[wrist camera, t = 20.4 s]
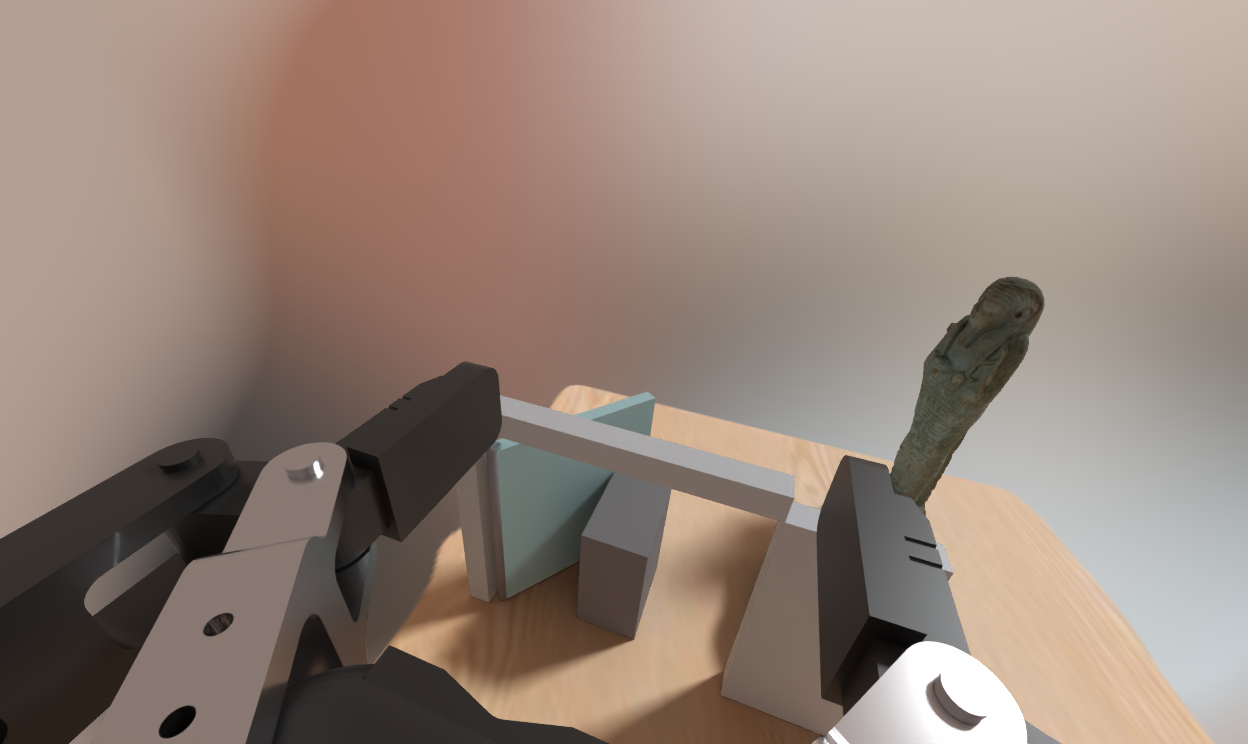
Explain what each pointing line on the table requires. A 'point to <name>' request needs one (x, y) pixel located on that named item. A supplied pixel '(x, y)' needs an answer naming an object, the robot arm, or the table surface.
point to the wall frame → (787, 583)
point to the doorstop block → (621, 553)
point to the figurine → (965, 381)
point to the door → (548, 500)
